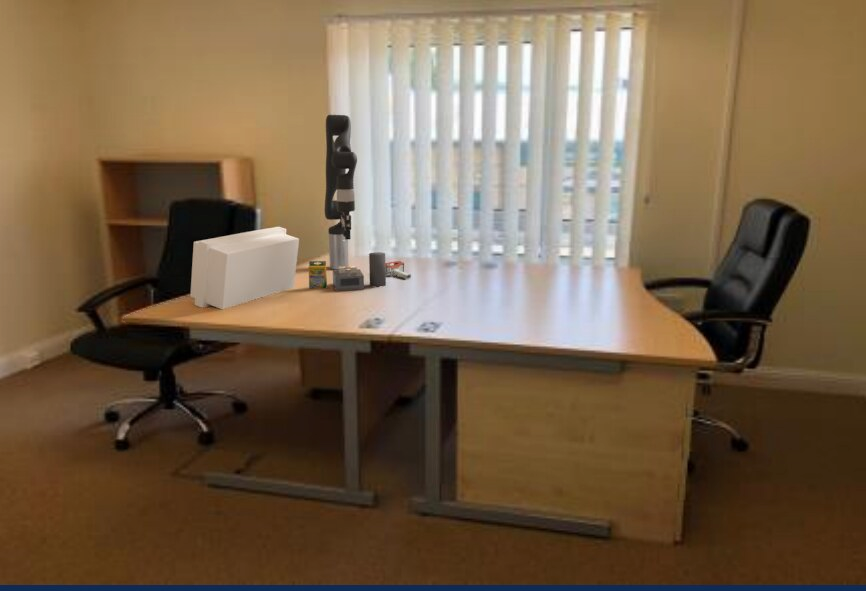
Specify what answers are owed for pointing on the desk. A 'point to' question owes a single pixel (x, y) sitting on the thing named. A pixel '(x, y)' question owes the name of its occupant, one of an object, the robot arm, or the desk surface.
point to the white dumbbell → (352, 269)
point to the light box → (243, 267)
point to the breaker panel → (348, 280)
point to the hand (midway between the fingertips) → (346, 237)
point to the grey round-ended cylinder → (377, 269)
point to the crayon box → (317, 274)
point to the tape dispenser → (397, 269)
